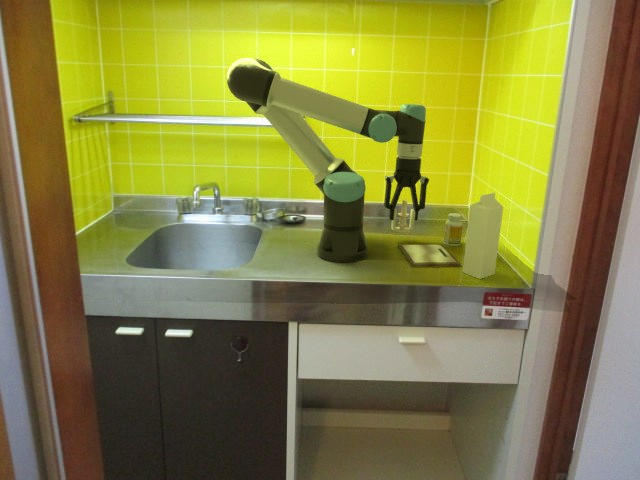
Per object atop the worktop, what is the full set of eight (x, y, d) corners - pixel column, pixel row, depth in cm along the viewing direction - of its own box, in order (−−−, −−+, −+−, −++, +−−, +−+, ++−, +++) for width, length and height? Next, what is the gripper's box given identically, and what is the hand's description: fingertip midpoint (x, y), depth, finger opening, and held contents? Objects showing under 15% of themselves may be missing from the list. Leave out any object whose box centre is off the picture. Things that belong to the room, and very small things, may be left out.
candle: (409, 228, 161) (412, 197, 157) (411, 233, 156) (414, 201, 152) (392, 228, 161) (395, 196, 158) (394, 232, 156) (397, 200, 153)
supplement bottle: (439, 243, 158) (442, 214, 155) (450, 240, 161) (452, 211, 158) (453, 247, 154) (456, 218, 151) (464, 244, 157) (467, 215, 154)
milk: (494, 275, 133) (506, 195, 126) (480, 279, 130) (491, 198, 123) (475, 267, 138) (486, 190, 131) (461, 272, 135) (471, 193, 128)
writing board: (411, 267, 138) (411, 263, 138) (397, 247, 154) (398, 243, 154) (460, 266, 139) (460, 262, 139) (441, 246, 155) (442, 243, 155)
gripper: (381, 158, 147) (376, 233, 154) (441, 159, 148) (433, 233, 155) (377, 154, 154) (371, 225, 161) (434, 155, 155) (426, 226, 162)
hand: (402, 229), depth 158 cm, fingers closed on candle, 5 cm apart
